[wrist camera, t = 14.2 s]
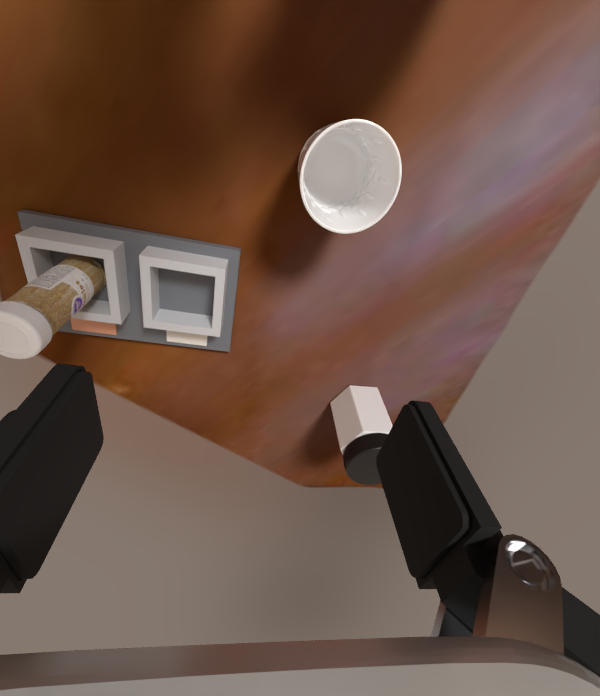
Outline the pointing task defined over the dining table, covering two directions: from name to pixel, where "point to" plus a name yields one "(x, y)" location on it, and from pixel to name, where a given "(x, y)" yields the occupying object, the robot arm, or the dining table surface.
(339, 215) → the white cup
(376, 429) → the jar
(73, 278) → the sprinkles bottle
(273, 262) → the dining table surface
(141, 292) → the socket board
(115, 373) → the dining table surface
